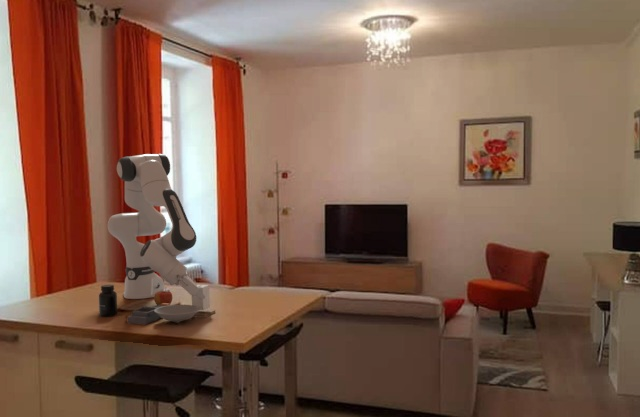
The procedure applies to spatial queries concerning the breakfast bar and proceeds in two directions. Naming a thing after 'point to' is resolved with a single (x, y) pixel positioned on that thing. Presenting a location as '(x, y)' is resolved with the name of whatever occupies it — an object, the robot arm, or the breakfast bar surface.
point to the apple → (163, 297)
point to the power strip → (145, 314)
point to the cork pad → (203, 313)
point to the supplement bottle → (107, 301)
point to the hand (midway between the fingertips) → (202, 296)
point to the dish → (177, 312)
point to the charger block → (199, 302)
